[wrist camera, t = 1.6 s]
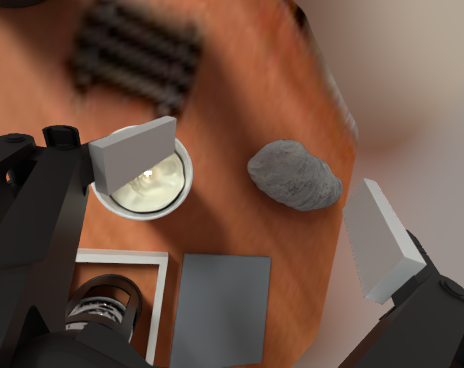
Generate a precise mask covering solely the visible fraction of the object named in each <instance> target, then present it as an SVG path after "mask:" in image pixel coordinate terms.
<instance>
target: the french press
mask: <svg viewBox="0 0 464 368" xmlns="http://www.w3.org/2000/svg"><path fill="white" fill-rule="evenodd" d="M99 286H114V287H117V288H120V289H122V290H123V291H125V292H126V293H127V294H128V295H129V296H130V298H129V301H128V303H127V306H126V307H125V306H124V305H123V304H122V303H121V302H119V301H117V300H115V299H112V298H109V297H102V296H98V297H89V298H85V299H83V298H84V296H85V295H86V294H87V293H88V292H90V291H91V290H93V289H95V288H97V287H99ZM141 309H142V297H141V293H140V291H139V289H138V287H137V286H136V284H135V283H134V282H132V281H131V280H130V279H128V278H126V277H124V276H121V275H115V274H107V275H101V276H98V277H95V278H93V279H90V280H89V281H87V282H86V283H84V284H83V285H82V286H81V287H80V288H78V289H77V290H76V292H75V293H74V294H73V295H72V297H71V299H70V300H69V302H68V303H67V307H66V314H65V322H66V330H67V329H83V328H84V327H85V326H86V324H87V323H88V322H89V321H90V320H93V321H95V322H97V323H99V324H101V325H103V326H105V327H107V328H109V329H111V330H113V331H115V332H117V333H119V334H121V335H123V337H124V338H125V339H126V340H127V341H128V342H129V343H130V340H131V336H132V334H133V332H134V329H135V327H136V324H137V321H138V318H139V316H140V313H141Z"/></svg>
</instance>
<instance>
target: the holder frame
mask: <svg viewBox="0 0 464 368" xmlns="http://www.w3.org/2000/svg"><path fill="white" fill-rule="evenodd" d="M75 262H101V263H138V264H159V270H158V277H157V284H156V291H155V298H154V304H153V311H152V318H151V325H150V332H149V338H148V345H147V352H146V359H145V360H146V361H147V362H148V363H149V364H150V365H153V361H154V354H155V347H156V340H157V333H158V326H159V319H160V312H161V305H162V298H163V291H164V284H165V277H166V270H167V263H168V252H153V251H130V250H108V249H85V248H78V251H77V256H76V261H75Z"/></svg>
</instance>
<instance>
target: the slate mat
mask: <svg viewBox="0 0 464 368" xmlns="http://www.w3.org/2000/svg"><path fill="white" fill-rule="evenodd" d="M270 265H271V258H270V257H266V256H244V255H221V254H198V253H184V258H183V265H182V273H181V280H180V288H179V295H178V302H177V310H176V317H175V325H174V332H173V340H172V347H171V354H170V362H169V368H224V367H232V366H240V365H248V364H256V363H262V355H263V344H264V332H265V321H266V310H267V298H268V287H269V276H270Z"/></svg>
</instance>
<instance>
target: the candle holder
mask: <svg viewBox="0 0 464 368" xmlns="http://www.w3.org/2000/svg"><path fill="white" fill-rule="evenodd" d="M137 126H139V125H137ZM133 127H136V126H129V127H125V128H122V129H120V130H117V131H115V132H114V133H112V134H116V133H119V132H121V131H124V130H127V129H130V128H133ZM110 135H111V134H110ZM192 181H193V166H192V162H191V158H190V156H189V154H188V152H187V150H186V149H185V147H184V146H183V144H182V143H181V142H180V141H179V140H178V139H177V138H175V149H174V154H172V155H171V156H169V157H168V158H166V159H164V160H163V161H161V162H160V163H158V164H157V165H155V166H154V167H152V168H151V169H149V170H148V171H146V172H144V173H143V174H141V175H140V176H138V177H137V178H135V179H134V180H132V181H131V182H129V183H127V184H126V185H124V186H123V187H121V188H120V189H118V190H117V191H115V192H114V193H112V194H111V195H109V196H107V195H105V194H102V193H99V192H97V191H96V188H95V182H93V183H91V185H92V188H93V191H94V193H95V195H96V196H97V198H98V199H99V201H100V202H101V203H102V204H103V205H104V206H105V207H106V208H107V209H109V210H110V211H111V212H113V213H115V214H117V215H119V216H121V217H124V218H127V219H131V220H139V221H145V220H153V219H157V218H160V217H163V216H165V215H167V214H169V213H171V212H172V211H174V210H175V209H176V208H177V207H179V206H180V205H181V203H182V202H183V201H184V200H185V198H186V197H187V195H188V193H189V191H190V188H191V185H192Z"/></svg>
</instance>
